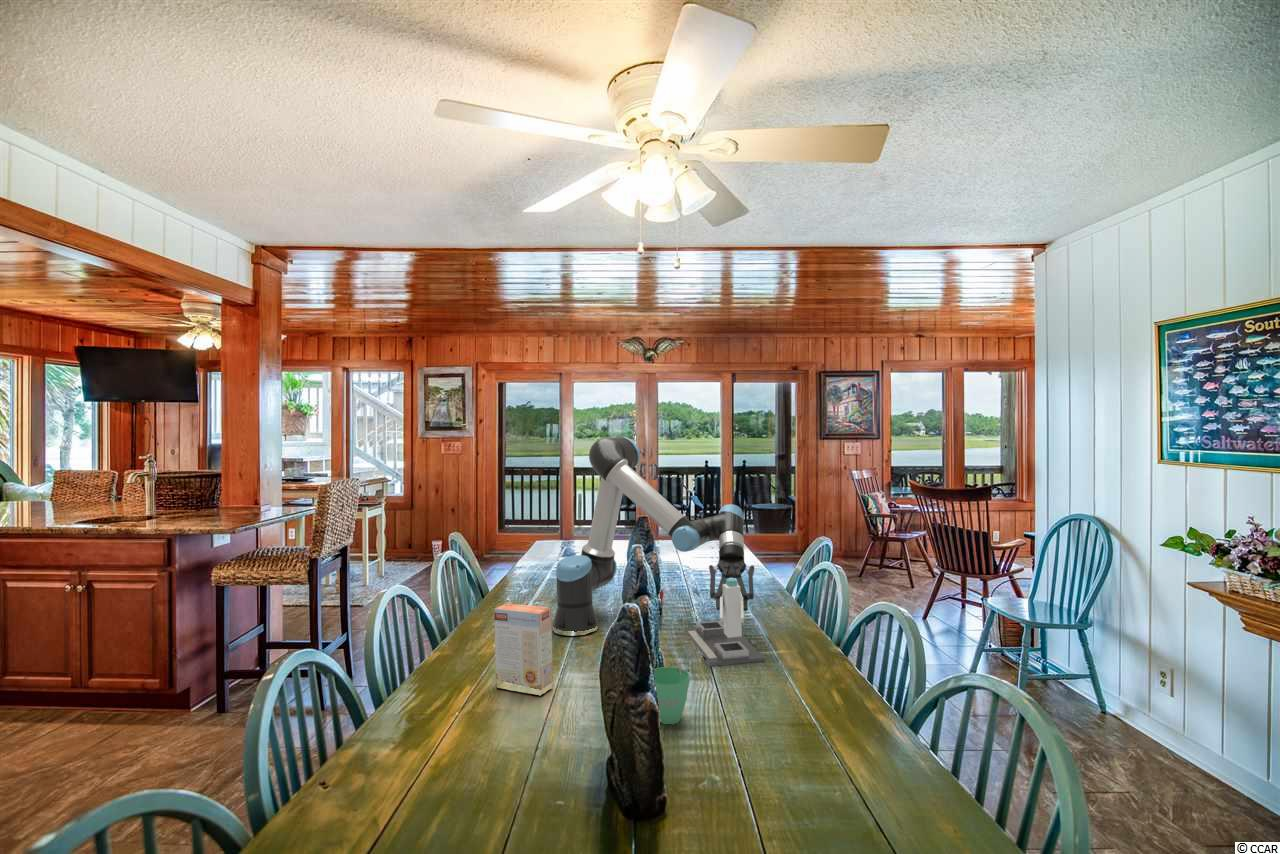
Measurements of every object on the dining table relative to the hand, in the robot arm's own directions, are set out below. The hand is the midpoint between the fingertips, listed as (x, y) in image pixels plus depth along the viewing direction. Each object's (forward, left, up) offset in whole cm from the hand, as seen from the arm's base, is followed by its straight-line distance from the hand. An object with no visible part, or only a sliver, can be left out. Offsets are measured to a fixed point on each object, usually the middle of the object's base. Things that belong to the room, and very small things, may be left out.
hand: (731, 620), depth 171 cm
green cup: (-27, -28, -12) cm, 41 cm away
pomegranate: (-11, +64, -12) cm, 66 cm away
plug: (+1, +3, -5) cm, 6 cm away
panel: (+1, +14, -12) cm, 18 cm away
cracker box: (-57, -4, -12) cm, 59 cm away
